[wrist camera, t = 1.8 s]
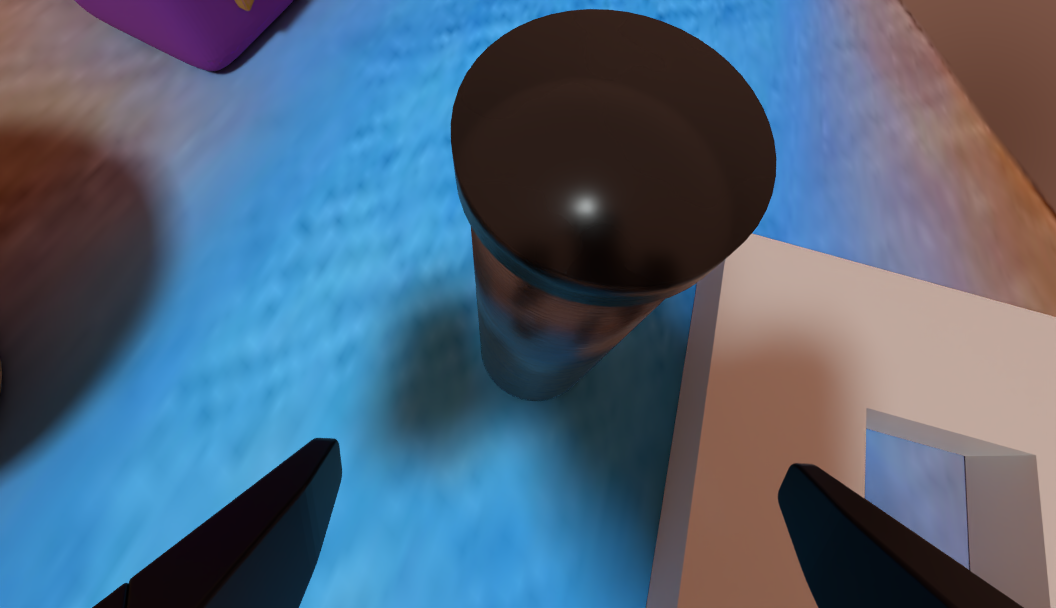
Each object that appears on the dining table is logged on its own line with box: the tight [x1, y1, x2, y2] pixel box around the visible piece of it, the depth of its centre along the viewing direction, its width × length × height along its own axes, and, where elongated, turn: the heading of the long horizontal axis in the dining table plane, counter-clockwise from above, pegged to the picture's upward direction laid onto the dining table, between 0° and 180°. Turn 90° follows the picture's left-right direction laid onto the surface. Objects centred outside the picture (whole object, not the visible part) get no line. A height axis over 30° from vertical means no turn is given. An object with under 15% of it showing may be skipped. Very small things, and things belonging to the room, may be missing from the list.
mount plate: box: [646, 234, 1056, 608], centre depth 19 cm, size 20×20×3 cm
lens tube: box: [451, 9, 776, 401], centre depth 15 cm, size 5×5×15 cm
